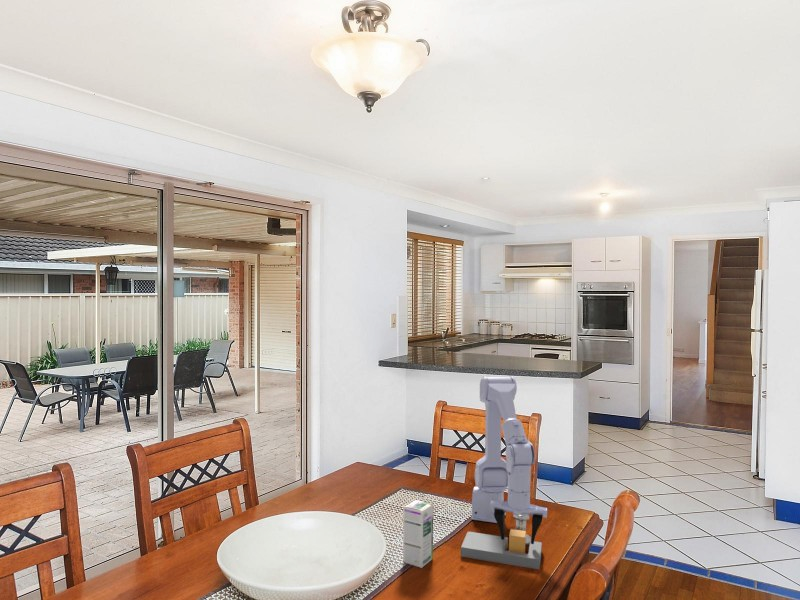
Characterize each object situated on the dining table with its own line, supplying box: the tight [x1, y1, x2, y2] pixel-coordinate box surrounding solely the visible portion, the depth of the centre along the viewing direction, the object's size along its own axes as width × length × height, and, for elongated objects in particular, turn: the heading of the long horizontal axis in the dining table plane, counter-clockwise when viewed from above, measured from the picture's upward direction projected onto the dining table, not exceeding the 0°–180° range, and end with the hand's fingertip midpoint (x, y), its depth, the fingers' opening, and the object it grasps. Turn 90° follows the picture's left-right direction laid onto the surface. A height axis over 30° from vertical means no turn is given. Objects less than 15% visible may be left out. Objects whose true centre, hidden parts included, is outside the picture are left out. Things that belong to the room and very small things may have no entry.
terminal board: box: [460, 531, 543, 570], centre depth 150 cm, size 20×10×2 cm, turn 73°
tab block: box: [508, 528, 527, 554], centre depth 149 cm, size 4×4×6 cm
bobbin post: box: [512, 512, 531, 546], centre depth 158 cm, size 6×6×7 cm
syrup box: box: [402, 499, 434, 569], centre depth 145 cm, size 6×6×14 cm
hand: (517, 540), depth 149 cm, fingers open, 7 cm apart
